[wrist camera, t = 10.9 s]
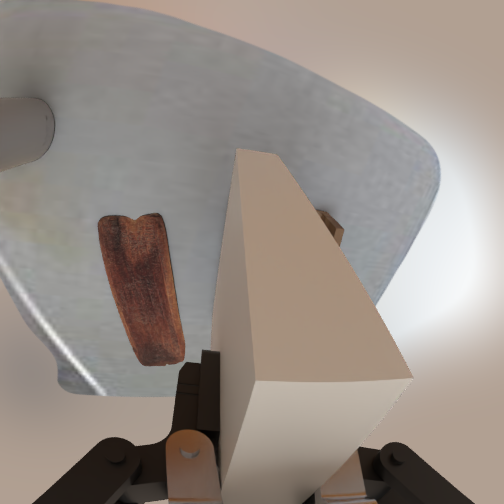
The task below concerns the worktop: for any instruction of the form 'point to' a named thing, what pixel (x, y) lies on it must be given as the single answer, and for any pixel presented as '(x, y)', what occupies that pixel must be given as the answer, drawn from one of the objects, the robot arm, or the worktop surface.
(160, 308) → the wooden tablet
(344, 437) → the cutting board
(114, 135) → the worktop surface
